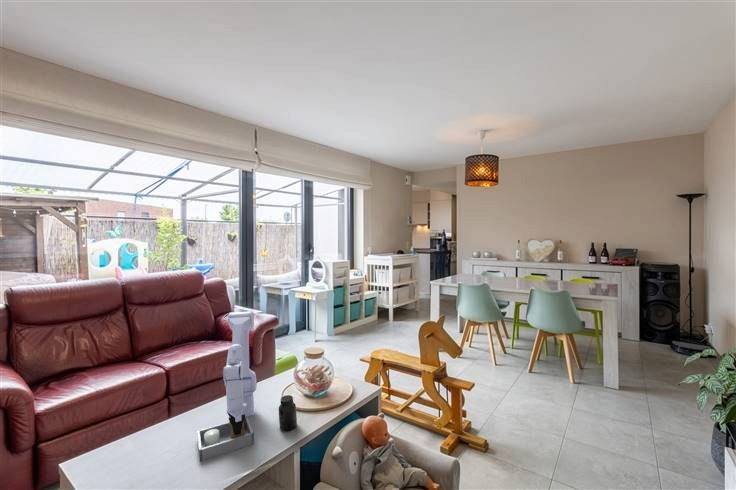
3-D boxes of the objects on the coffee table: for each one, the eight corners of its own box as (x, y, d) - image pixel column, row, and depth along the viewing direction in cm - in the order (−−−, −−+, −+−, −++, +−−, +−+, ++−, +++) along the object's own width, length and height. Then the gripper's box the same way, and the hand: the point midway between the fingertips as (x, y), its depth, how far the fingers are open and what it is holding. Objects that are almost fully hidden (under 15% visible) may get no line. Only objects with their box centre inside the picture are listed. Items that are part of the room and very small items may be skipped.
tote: (197, 442, 128) (197, 430, 128) (247, 427, 137) (247, 416, 137) (199, 463, 117) (199, 450, 116) (254, 445, 125) (253, 433, 125)
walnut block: (230, 433, 130) (229, 418, 129) (242, 430, 132) (241, 415, 131) (231, 440, 126) (230, 424, 125) (244, 436, 128) (243, 420, 127)
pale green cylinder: (204, 444, 125) (203, 431, 125) (219, 440, 128) (218, 427, 128) (205, 452, 121) (204, 439, 121) (220, 447, 124) (219, 434, 123)
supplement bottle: (291, 420, 141) (289, 391, 140) (300, 426, 136) (299, 397, 135) (276, 427, 136) (274, 398, 135) (285, 434, 131) (283, 404, 131)
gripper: (249, 401, 123) (251, 437, 124) (242, 385, 136) (244, 418, 137) (228, 406, 120) (230, 443, 121) (223, 389, 132) (225, 423, 133)
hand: (236, 430), depth 128 cm, fingers closed on walnut block, 4 cm apart
